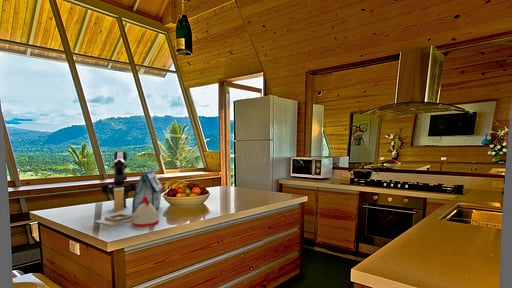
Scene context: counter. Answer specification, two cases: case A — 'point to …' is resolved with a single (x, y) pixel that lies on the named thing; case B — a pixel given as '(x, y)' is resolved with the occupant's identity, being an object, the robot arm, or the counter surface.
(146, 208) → the kitchen timer
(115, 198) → the beige cylinder
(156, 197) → the lunch bag
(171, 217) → the counter surface
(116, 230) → the counter surface
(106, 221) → the socket board
